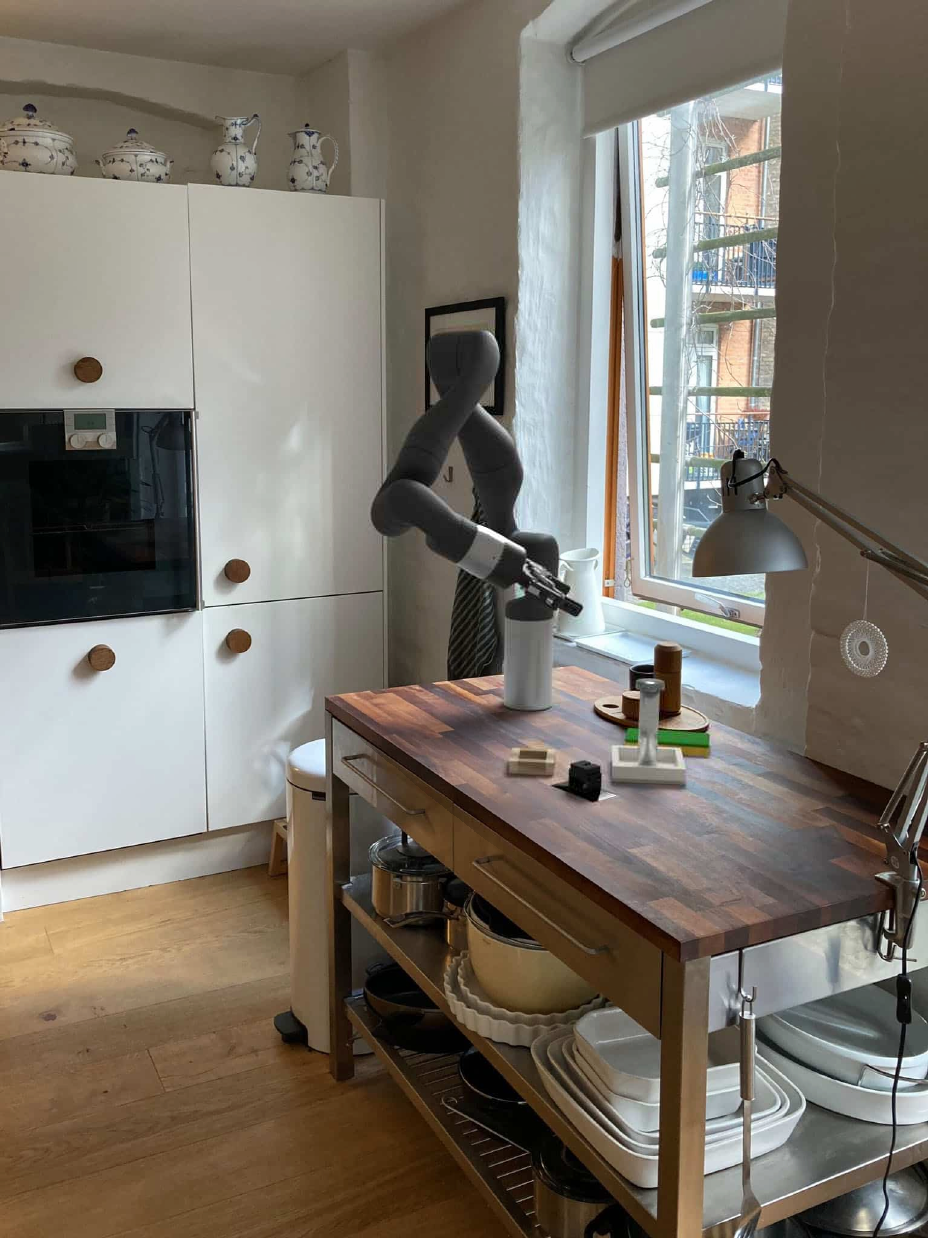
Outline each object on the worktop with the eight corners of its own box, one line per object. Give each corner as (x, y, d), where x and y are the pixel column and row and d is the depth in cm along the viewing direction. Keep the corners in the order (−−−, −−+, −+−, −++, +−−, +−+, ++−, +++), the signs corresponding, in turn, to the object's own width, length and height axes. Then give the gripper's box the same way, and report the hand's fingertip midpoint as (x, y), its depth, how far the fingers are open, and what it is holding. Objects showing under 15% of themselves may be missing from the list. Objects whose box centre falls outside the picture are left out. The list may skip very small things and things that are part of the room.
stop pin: (632, 763, 179) (635, 678, 177) (660, 764, 179) (663, 679, 176) (633, 772, 175) (636, 684, 173) (661, 773, 175) (665, 685, 172)
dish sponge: (708, 759, 186) (709, 744, 185) (624, 752, 189) (624, 738, 188) (709, 746, 192) (709, 733, 192) (627, 741, 195) (628, 727, 195)
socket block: (512, 759, 183) (512, 747, 183) (555, 761, 182) (555, 749, 182) (509, 773, 176) (509, 761, 176) (553, 775, 175) (554, 762, 175)
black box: (630, 801, 166) (632, 771, 165) (594, 810, 162) (595, 780, 161) (574, 778, 176) (575, 750, 175) (538, 787, 171) (539, 758, 171)
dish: (611, 760, 183) (611, 745, 183) (679, 762, 182) (680, 748, 181) (612, 781, 172) (612, 766, 172) (685, 785, 171) (686, 769, 171)
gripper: (510, 551, 169) (597, 598, 174) (494, 522, 182) (575, 567, 187) (485, 592, 171) (571, 637, 176) (470, 561, 184) (551, 604, 189)
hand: (573, 601), depth 182 cm, fingers open, 8 cm apart
